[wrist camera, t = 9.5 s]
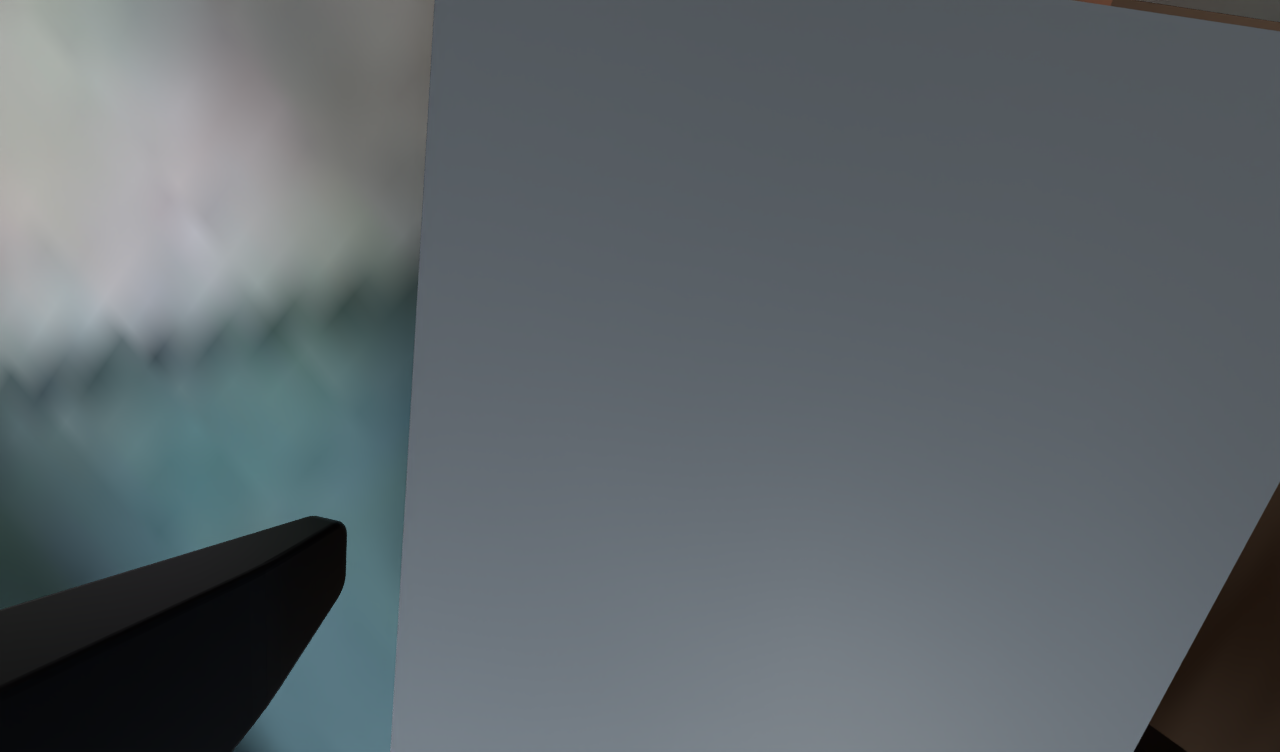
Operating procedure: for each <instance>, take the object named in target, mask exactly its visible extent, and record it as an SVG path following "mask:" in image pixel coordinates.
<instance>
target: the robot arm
mask: <svg viewBox="0 0 1280 752" xmlns="http://www.w3.org/2000/svg"><path fill="white" fill-rule="evenodd" d="M346 547H347V531H346V527H345V525H344V524H343V523H342V522H340V521H336V520H332V519H328V518H323V517H319V516H309V517H305V518H302V519H299V520H295V521H292V522H289V523H285V524H282V525H279V526H276V527H272V528H269V529H266V530H262V531H259V532H256V533H252V534H249V535H246V536H243V537H239V538H236V539H233V540H229V541H226V542H223V543H219V544H216V545H213V546H210V547H206V548H203V549H200V550H196V551H193V552H190V553H186V554H183V555H180V556H177V557H173V558H170V559H167V560H163V561H160V562H157V563H153V564H150V565H147V566H144V567H140V568H137V569H134V570H130V571H127V572H124V573H120V574H117V575H114V576H111V577H107V578H104V579H101V580H97V581H94V582H91V583H87V584H84V585H81V586H78V587H74V588H71V589H68V590H64V591H61V592H58V593H54V594H51V595H48V596H45V597H41V598H38V599H35V600H31V601H28V602H25V603H21V604H18V605H15V606H12V607H8V608H5V609H2V610H0V752H232V751H233V750H234V749H235V748H236V746H237V745H238V744H239V742H240V741H241V740H242V739H243V737H244V736H245V735H246V734H247V732H248V731H249V730H250V728H251V727H252V726H253V725H254V723H255V722H256V721H257V719H258V718H259V717H260V715H261V714H262V713H263V711H264V710H265V709H266V707H267V706H268V705H269V703H270V702H271V700H272V699H273V697H274V696H275V694H276V693H277V691H278V690H279V689H280V687H281V686H282V684H283V682H284V681H285V679H286V678H287V676H288V675H289V673H290V672H291V670H292V668H293V667H294V665H295V664H296V662H297V661H298V659H299V658H300V656H301V654H302V653H303V651H304V650H305V648H306V647H307V645H308V644H309V642H310V640H311V639H312V637H313V636H314V634H315V633H316V631H317V630H318V628H319V627H320V625H321V623H322V622H323V620H324V619H325V617H326V616H327V614H328V613H329V611H330V609H331V608H332V606H333V605H334V603H335V602H336V600H337V599H338V597H339V595H340V593H341V591H342V589H343V586H344V582H345V576H346ZM1134 752H1187V751H1186V750H1184V749H1183V748H1182V747H1180V746H1179V745H1177V744H1176V743H1175V742H1173V741H1172V740H1170V739H1169V738H1168V737H1166V736H1165V735H1164V734H1162V733H1161V732H1159V731H1158V730H1157V729H1155V728H1154V727H1152V726H1151V725H1150V724H1148V726H1147V728H1146V730H1145V731H1144V733H1143V735H1142V737H1141V739H1140V741H1139V742H1138V744H1137V746H1136V748H1135V750H1134Z"/></svg>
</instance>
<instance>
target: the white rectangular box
mask: <svg viewBox="0 0 1280 752" xmlns="http://www.w3.org/2000/svg"><path fill="white" fill-rule="evenodd" d="M1279 482H1280V31H1274V30H1267V29H1260V28H1254V27H1247V26H1240V25H1234V24H1227V23H1220V22H1214V21H1207V20H1200V19H1194V18H1187V17H1180V16H1174V15H1167V14H1160V13H1154V12H1147V11H1140V10H1134V9H1127V8H1120V7H1114V6H1107V5H1100V4H1094V3H1087V2H1080V1H1074V0H435V4H434V21H433V38H432V55H431V72H430V89H429V106H428V123H427V140H426V157H425V174H424V191H423V208H422V225H421V242H420V259H419V276H418V293H417V310H416V327H415V344H414V361H413V378H412V394H411V411H410V428H409V445H408V462H407V479H406V496H405V513H404V530H403V547H402V564H401V581H400V598H399V615H398V632H397V649H396V666H395V683H394V700H393V717H392V734H391V751H390V752H1134V750H1135V748H1136V746H1137V744H1138V742H1139V741H1140V739H1141V737H1142V735H1143V733H1144V731H1145V730H1146V728H1147V726H1148V724H1149V722H1150V720H1151V718H1152V717H1153V715H1154V713H1155V711H1156V709H1157V707H1158V706H1159V704H1160V702H1161V700H1162V698H1163V696H1164V695H1165V693H1166V691H1167V689H1168V687H1169V685H1170V683H1171V682H1172V680H1173V678H1174V676H1175V674H1176V672H1177V671H1178V669H1179V667H1180V665H1181V663H1182V661H1183V659H1184V658H1185V656H1186V654H1187V652H1188V650H1189V648H1190V647H1191V645H1192V643H1193V641H1194V639H1195V637H1196V635H1197V634H1198V632H1199V630H1200V628H1201V626H1202V624H1203V623H1204V621H1205V619H1206V617H1207V615H1208V613H1209V611H1210V610H1211V608H1212V606H1213V604H1214V602H1215V600H1216V599H1217V597H1218V595H1219V593H1220V591H1221V589H1222V587H1223V586H1224V584H1225V582H1226V580H1227V578H1228V576H1229V575H1230V573H1231V571H1232V569H1233V567H1234V565H1235V563H1236V562H1237V560H1238V558H1239V556H1240V554H1241V552H1242V551H1243V549H1244V547H1245V545H1246V543H1247V541H1248V540H1249V538H1250V536H1251V534H1252V532H1253V530H1254V528H1255V527H1256V525H1257V523H1258V521H1259V519H1260V517H1261V516H1262V514H1263V512H1264V510H1265V508H1266V506H1267V504H1268V503H1269V501H1270V499H1271V497H1272V495H1273V493H1274V492H1275V490H1276V488H1277V486H1278V484H1279Z"/></svg>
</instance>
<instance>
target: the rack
mask: <svg viewBox="0 0 1280 752" xmlns="http://www.w3.org/2000/svg"><path fill="white" fill-rule="evenodd" d="M1074 1H1080V2H1087V3H1094V4H1100V5H1107V6H1114V7H1120V8H1127V9H1134V10H1140V11H1147V12H1154V13H1160V14H1167V15H1174V16H1180V17H1187V18H1194V19H1200V20H1207V21H1214V22H1220V23H1227V24H1234V25H1240V26H1247V27H1254V28H1260V29H1267V30H1274V31H1280V22H1274V21H1267V20H1261V19H1254V18H1248V17H1241V16H1235V15H1228V14H1222V13H1215V12H1209V11H1202V10H1196V9H1189V8H1182V7H1176V6H1169V5H1163V4H1156V3H1150V2H1143V1H1137V0H1074ZM1149 724H1150V725H1151V726H1152V727H1154V728H1155V729H1157V730H1158V731H1159V732H1161V733H1162V734H1164V735H1165V736H1166V737H1168V738H1169V739H1170V740H1172V741H1173V742H1175V743H1176V744H1177V745H1179V746H1180V747H1182V748H1183V749H1184V750H1186V751H1187V752H1280V482H1279V484H1278V486H1277V488H1276V490H1275V492H1274V493H1273V495H1272V497H1271V499H1270V501H1269V503H1268V504H1267V506H1266V508H1265V510H1264V512H1263V514H1262V516H1261V517H1260V519H1259V521H1258V523H1257V525H1256V527H1255V528H1254V530H1253V532H1252V534H1251V536H1250V538H1249V540H1248V541H1247V543H1246V545H1245V547H1244V549H1243V551H1242V552H1241V554H1240V556H1239V558H1238V560H1237V562H1236V563H1235V565H1234V567H1233V569H1232V571H1231V573H1230V575H1229V576H1228V578H1227V580H1226V582H1225V584H1224V586H1223V587H1222V589H1221V591H1220V593H1219V595H1218V597H1217V599H1216V600H1215V602H1214V604H1213V606H1212V608H1211V610H1210V611H1209V613H1208V615H1207V617H1206V619H1205V621H1204V623H1203V624H1202V626H1201V628H1200V630H1199V632H1198V634H1197V635H1196V637H1195V639H1194V641H1193V643H1192V645H1191V647H1190V648H1189V650H1188V652H1187V654H1186V656H1185V658H1184V659H1183V661H1182V663H1181V665H1180V667H1179V669H1178V671H1177V672H1176V674H1175V676H1174V678H1173V680H1172V682H1171V683H1170V685H1169V687H1168V689H1167V691H1166V693H1165V695H1164V696H1163V698H1162V700H1161V702H1160V704H1159V706H1158V707H1157V709H1156V711H1155V713H1154V715H1153V717H1152V718H1151V720H1150V722H1149Z"/></svg>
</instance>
